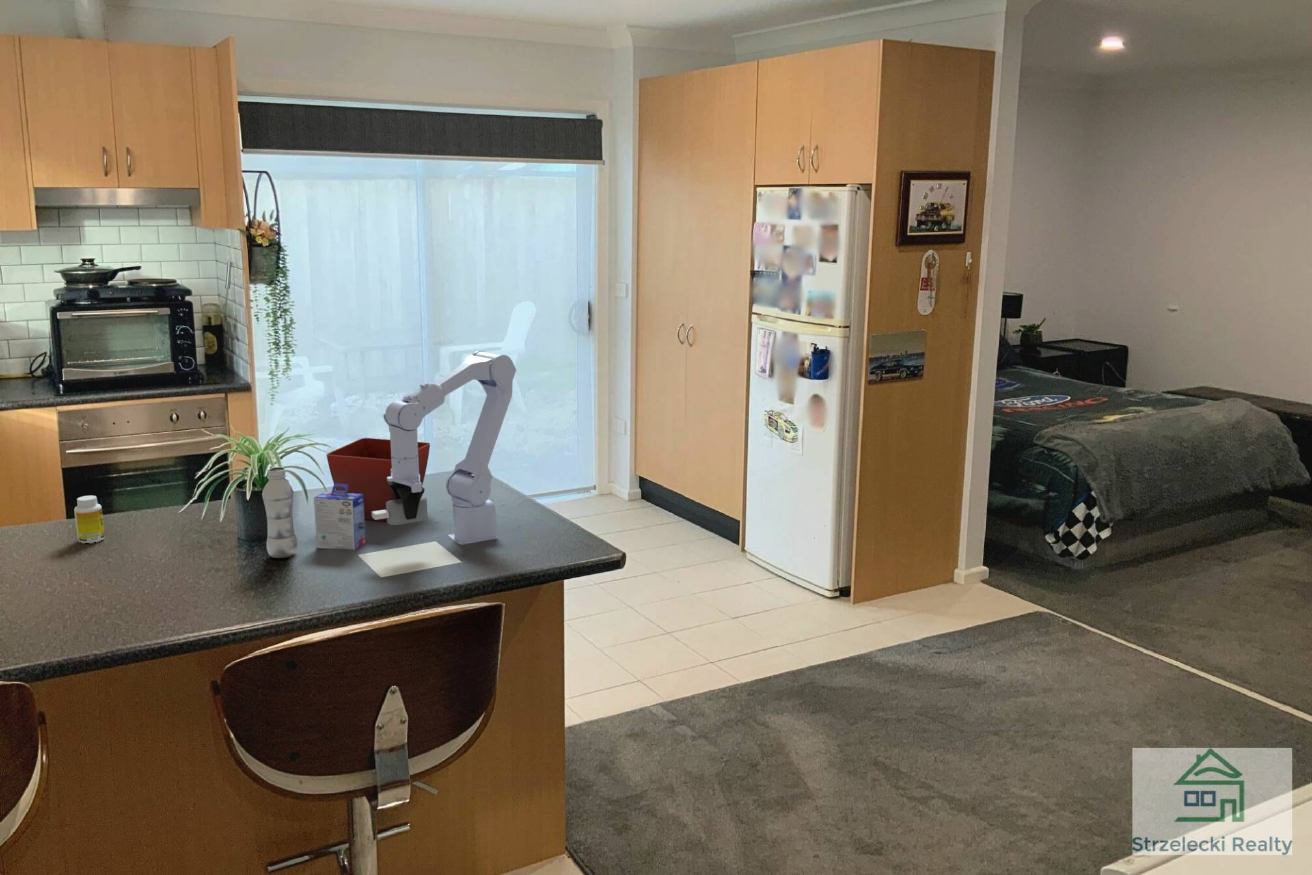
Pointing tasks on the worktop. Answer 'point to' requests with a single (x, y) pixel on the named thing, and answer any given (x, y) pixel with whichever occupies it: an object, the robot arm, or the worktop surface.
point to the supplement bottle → (89, 520)
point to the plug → (401, 512)
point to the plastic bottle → (279, 514)
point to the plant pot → (369, 470)
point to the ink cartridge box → (339, 519)
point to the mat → (408, 559)
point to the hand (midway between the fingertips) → (407, 515)
